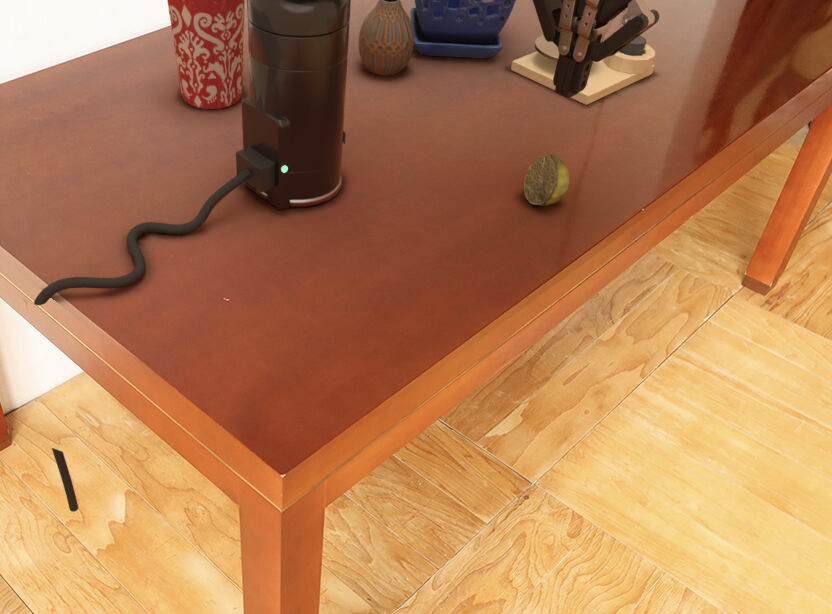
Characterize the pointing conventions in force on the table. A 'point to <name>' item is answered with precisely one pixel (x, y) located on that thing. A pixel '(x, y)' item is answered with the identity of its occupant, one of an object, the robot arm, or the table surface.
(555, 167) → the lime
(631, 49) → the tare button
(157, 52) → the table surface
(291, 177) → the robot arm
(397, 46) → the vase
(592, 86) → the scale
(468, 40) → the flower pot
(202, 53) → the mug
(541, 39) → the weighing plate
